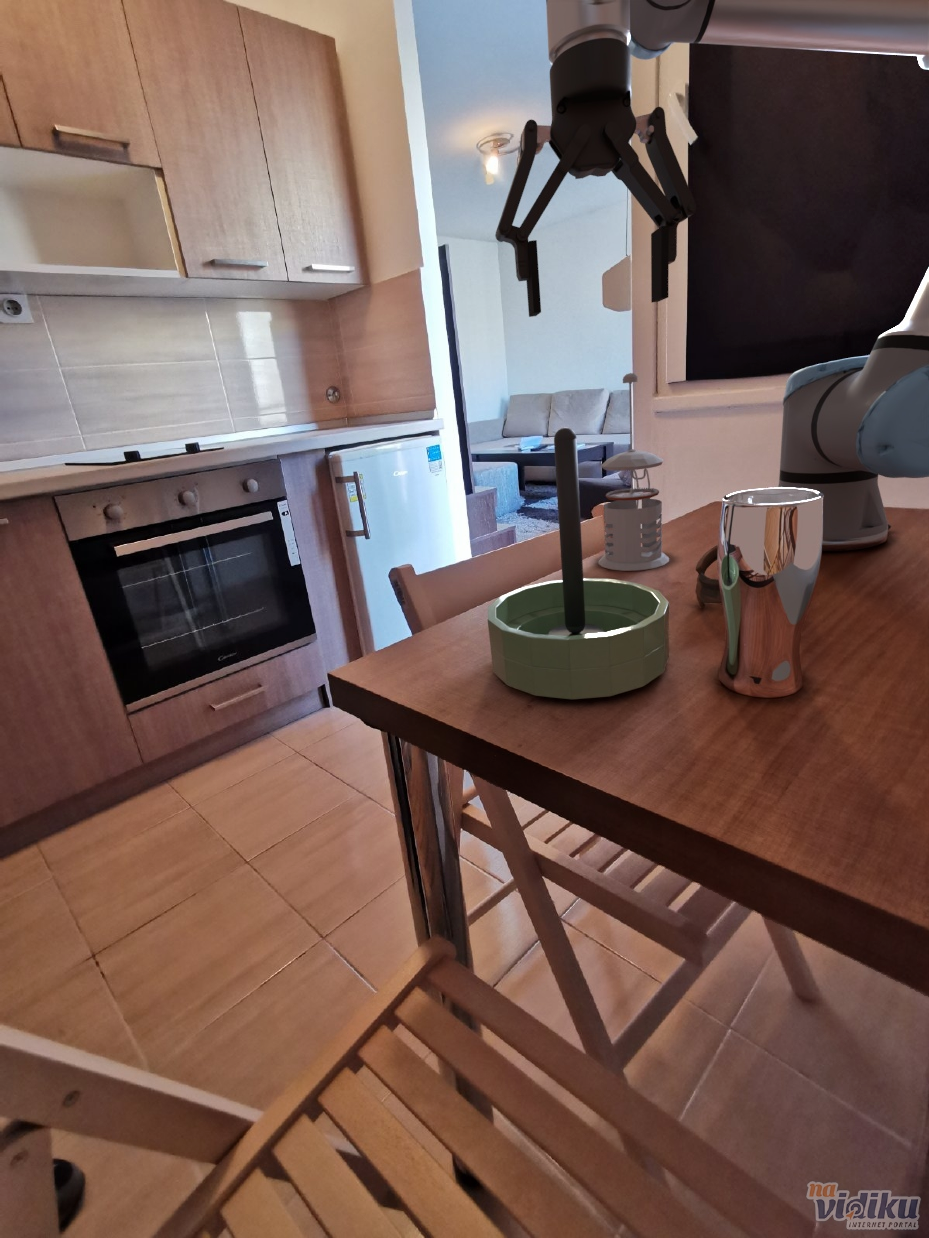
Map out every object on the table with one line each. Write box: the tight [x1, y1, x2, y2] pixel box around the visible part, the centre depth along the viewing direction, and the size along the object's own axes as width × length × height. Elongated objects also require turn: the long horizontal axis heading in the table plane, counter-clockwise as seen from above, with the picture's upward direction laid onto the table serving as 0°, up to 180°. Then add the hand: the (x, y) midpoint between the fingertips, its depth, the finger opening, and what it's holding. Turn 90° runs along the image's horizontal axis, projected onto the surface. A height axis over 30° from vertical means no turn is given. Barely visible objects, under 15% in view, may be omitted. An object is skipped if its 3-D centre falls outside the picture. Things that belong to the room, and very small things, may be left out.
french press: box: [597, 372, 670, 572], centre depth 81 cm, size 10×12×25 cm
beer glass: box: [716, 487, 824, 699], centre depth 45 cm, size 7×7×15 cm
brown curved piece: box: [695, 544, 722, 609], centre depth 64 cm, size 12×10×8 cm
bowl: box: [487, 577, 670, 700], centre depth 53 cm, size 16×16×6 cm
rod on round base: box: [548, 427, 604, 636], centre depth 51 cm, size 5×5×20 cm
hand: (597, 307), depth 63 cm, fingers open, 13 cm apart
